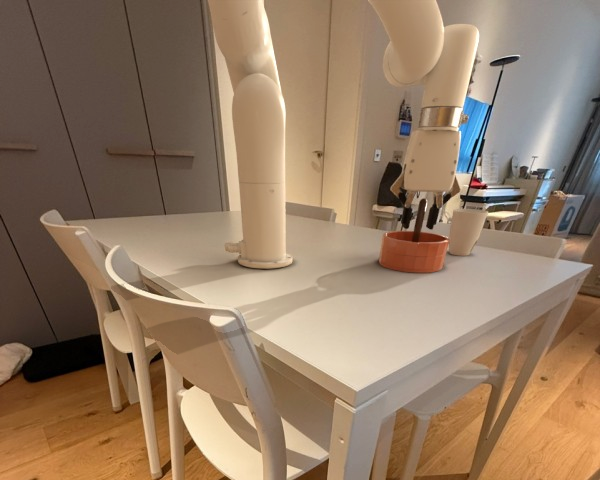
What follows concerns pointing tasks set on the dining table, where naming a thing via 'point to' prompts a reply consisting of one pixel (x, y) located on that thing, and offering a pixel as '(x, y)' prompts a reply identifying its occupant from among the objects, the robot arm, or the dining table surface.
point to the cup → (465, 230)
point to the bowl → (413, 251)
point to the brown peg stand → (419, 220)
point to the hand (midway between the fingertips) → (417, 227)
